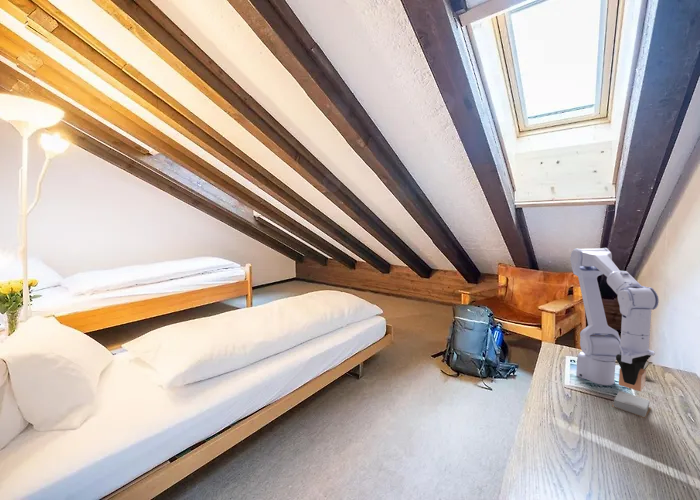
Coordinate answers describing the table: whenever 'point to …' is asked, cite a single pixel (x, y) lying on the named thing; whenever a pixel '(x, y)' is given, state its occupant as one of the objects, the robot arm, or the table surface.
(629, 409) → the slate slab
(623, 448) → the table surface
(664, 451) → the table surface
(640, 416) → the walnut slab
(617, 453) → the table surface
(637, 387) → the terracotta block
